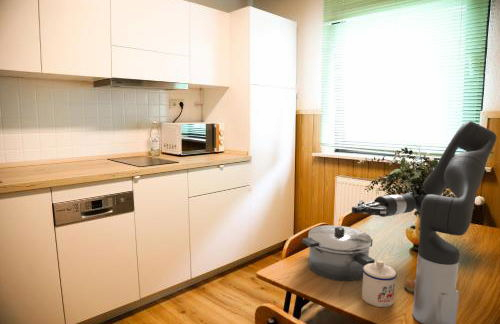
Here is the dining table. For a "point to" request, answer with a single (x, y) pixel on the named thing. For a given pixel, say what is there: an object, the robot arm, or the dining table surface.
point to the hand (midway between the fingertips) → (353, 210)
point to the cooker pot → (338, 263)
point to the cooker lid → (338, 238)
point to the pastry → (410, 285)
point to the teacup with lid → (378, 284)
